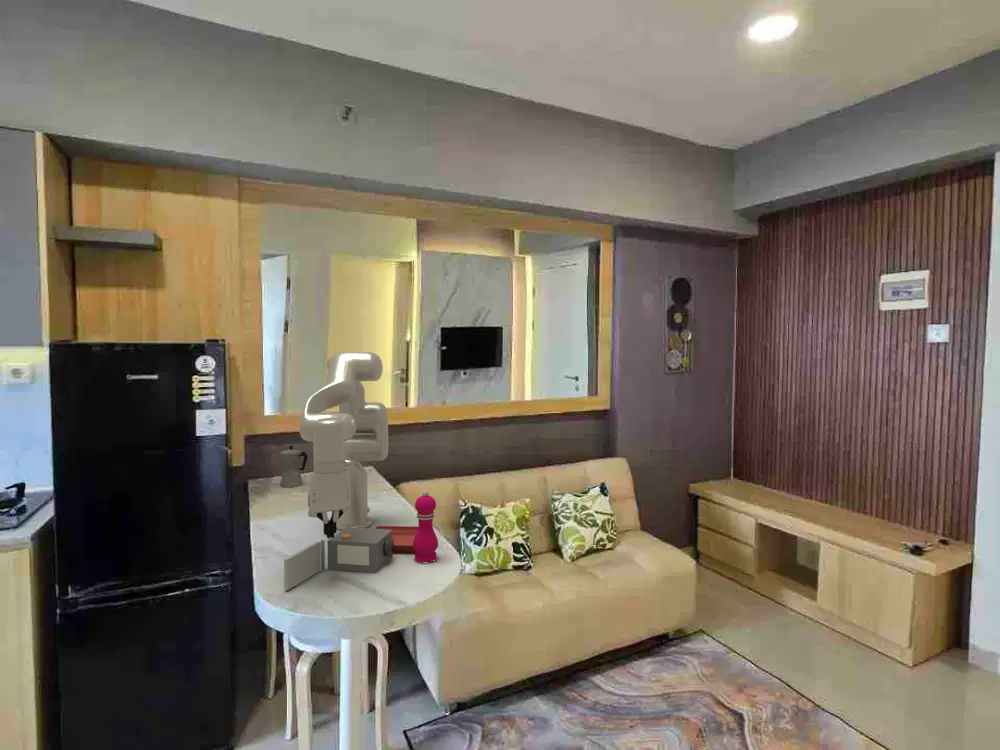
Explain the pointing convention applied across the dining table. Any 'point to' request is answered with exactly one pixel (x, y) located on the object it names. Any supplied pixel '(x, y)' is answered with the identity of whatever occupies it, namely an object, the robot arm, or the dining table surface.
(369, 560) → the camera case
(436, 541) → the pepper mill
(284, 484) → the coffeepot
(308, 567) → the side door
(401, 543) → the plant saucer
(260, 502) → the dining table surface
